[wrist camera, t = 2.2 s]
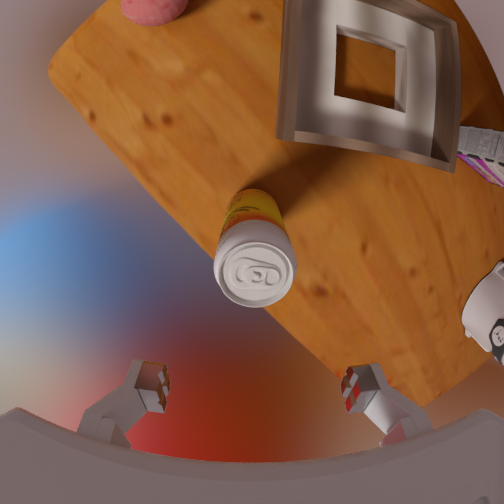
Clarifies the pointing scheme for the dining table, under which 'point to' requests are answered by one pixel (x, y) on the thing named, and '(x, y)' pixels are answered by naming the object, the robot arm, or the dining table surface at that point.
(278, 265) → the beer can
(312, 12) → the wooden box
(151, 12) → the apple
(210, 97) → the dining table surface
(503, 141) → the candy bar box
